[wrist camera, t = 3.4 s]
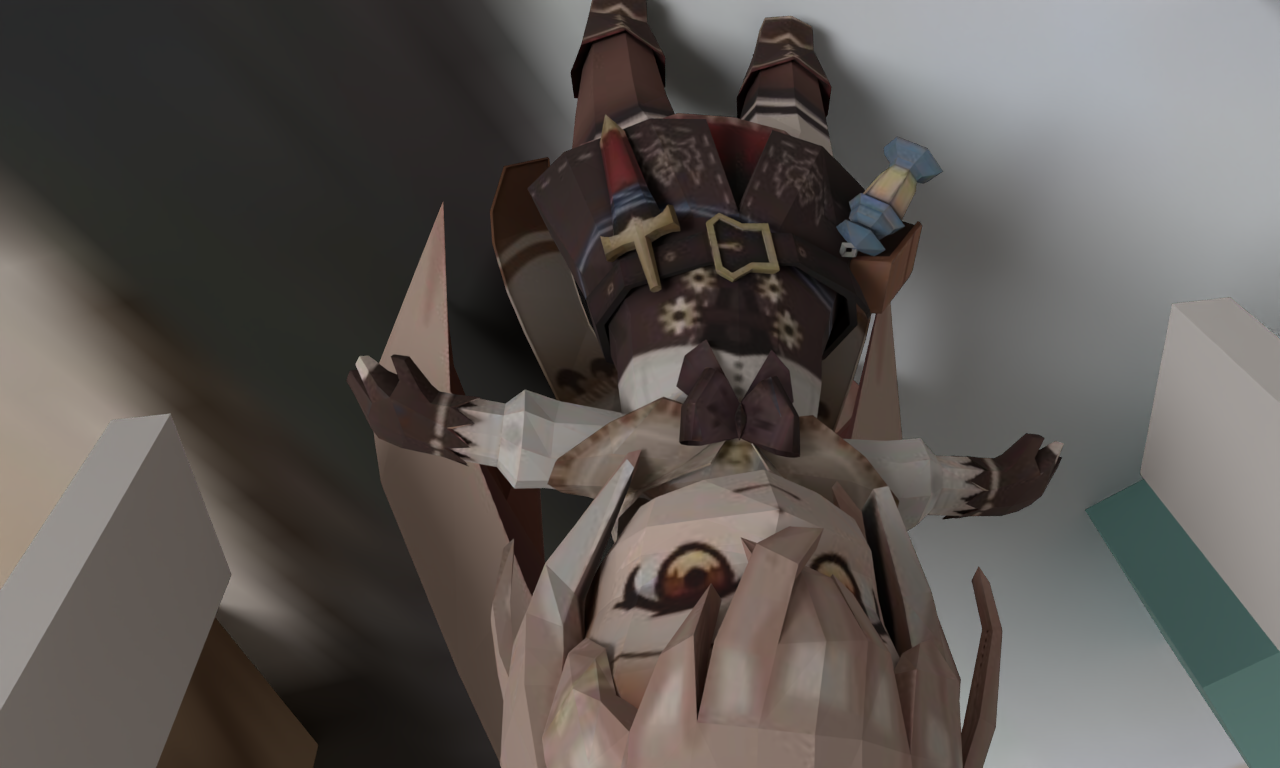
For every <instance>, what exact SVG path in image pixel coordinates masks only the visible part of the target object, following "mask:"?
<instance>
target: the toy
mask: <svg viewBox="0 0 1280 768" xmlns="http://www.w3.org/2000/svg"><path fill="white" fill-rule="evenodd" d="M571 78H572V85H573V93H574V98H578V102H577V108H576V116H575V126H574V136H573V146H572V149H571V150H568V151H566V152H564V153H563V154H562V155H561V156H560V157H559V158H558V159H557V160H556V161H555V162H554V163H553V164H552V165H551V166H550V162H549V158H548V157H546V158H541V159H536V160H532V161H527V162H522V163H517V164H513V165H508V166H504V168H503V171H502V174H501V177H500V181H499V184H498V187H497V190H496V194H495V197H494V200H493V203H492V206H491V210H490V217H491V231H492V244H493V247H494V251H495V254H496V257H497V261H498V264H499V268H500V271H501V274H502V278H503V281H504V285H505V288H506V291H507V294H508V296H509V299H510V301H511V303H512V306H513V308H514V310H515V313H516V315H517V317H518V320H519V322H520V324H521V327H522V329H523V331H524V334H525V336H526V338H527V340H528V342H529V344H530V346H531V348H532V350H533V352H534V354H535V356H536V358H537V360H538V362H539V365H540V367H541V369H542V371H543V373H544V375H545V377H546V379H547V381H548V383H549V385H550V387H551V389H552V391H553V393H554V395H555V397H556V399H557V400H555V399H552V398H549V397H546V396H543V395H540V394H537V393H534V392H531V391H528V390H524V391H522V392H521V393H520V394H518V395H517V396H515V397H514V398H513V399H511V400H510V401H509V402H507V403H506V404H504V403H499V402H494V401H488V400H483V399H479V398H481V397H473V396H465V393H464V391H463V388H462V386H461V383H460V380H459V378H458V375H457V373H456V370H455V368H454V364H453V355H452V347H451V339H450V330H449V322H448V314H447V291H446V264H445V237H444V210H443V203H442V205H441V208H440V210H439V213H438V215H437V218H436V221H435V223H434V226H433V228H432V231H431V233H430V236H429V238H428V241H427V243H426V246H425V248H424V251H423V254H422V256H421V259H420V261H419V264H418V266H417V269H416V271H415V274H414V276H413V279H412V281H411V284H410V287H409V289H408V292H407V294H406V297H405V299H404V302H403V304H402V307H401V309H400V312H399V314H398V317H397V320H396V322H395V325H394V327H393V330H392V332H391V335H390V337H389V340H388V342H387V345H386V347H385V350H384V352H383V355H382V358H381V360H380V363H378V362H376V361H375V360H374V359H372V358H371V357H370V356H359V358H358V360H357V362H356V367H357V369H358V370H351V371H350V372H349V375H348V378H347V382H348V384H349V386H350V388H351V389H352V391H353V393H354V394H355V396H356V398H357V400H358V402H359V404H360V406H361V408H362V410H363V412H364V414H365V416H366V418H367V420H368V422H369V424H370V426H371V428H372V430H373V431H374V438H375V444H376V451H377V458H378V465H379V472H380V479H381V484H382V486H383V489H384V491H385V494H386V496H387V499H388V501H389V504H390V506H391V509H392V511H393V513H394V516H395V518H396V521H397V523H398V526H399V528H400V531H401V533H402V536H403V538H404V540H405V543H406V545H407V548H408V550H409V553H410V555H411V558H412V560H413V563H414V565H415V567H416V570H417V572H418V575H419V577H420V580H421V582H422V585H423V587H424V590H425V592H426V594H427V597H428V599H429V602H430V604H431V607H432V609H433V612H434V614H435V617H436V619H437V621H438V624H439V626H440V629H441V631H442V634H443V636H444V639H445V641H446V644H447V646H448V648H449V651H450V653H451V656H452V658H453V661H454V663H455V666H456V668H457V671H458V673H459V675H460V677H461V679H462V682H463V684H464V686H465V688H466V690H467V692H468V695H469V697H470V699H471V701H472V703H473V705H474V708H475V710H476V712H477V714H478V716H479V718H480V721H481V723H482V725H483V727H484V729H485V731H486V733H487V736H488V738H489V740H490V742H491V744H492V746H493V749H494V751H495V753H496V755H497V757H498V759H499V762H500V765H501V768H983V765H984V762H985V759H986V756H987V752H988V749H989V746H990V743H991V740H992V737H993V734H994V731H995V728H996V715H997V701H998V686H999V672H1000V658H1001V643H1002V627H1001V623H1000V620H999V616H998V612H997V609H996V605H995V601H994V597H993V594H992V590H991V586H990V583H989V581H988V579H987V578H986V576H985V575H984V574H983V572H982V571H981V569H980V568H979V567H978V569H977V571H976V573H975V575H974V577H973V579H972V584H973V589H974V593H975V598H976V602H977V607H978V612H979V616H980V621H981V625H982V633H981V638H980V643H979V649H978V654H977V659H976V664H975V669H974V674H973V679H972V684H971V689H970V694H969V699H968V704H967V709H966V714H965V719H964V724H963V729H962V732H961V723H960V703H959V697H960V681H961V679H960V676H959V674H958V671H957V668H956V665H955V663H954V660H953V657H952V654H951V652H950V649H949V646H948V643H947V641H946V638H945V635H944V632H943V630H942V627H941V624H940V621H939V619H938V616H937V612H936V608H935V604H934V600H933V596H932V592H931V589H930V587H929V584H928V582H927V579H926V577H925V575H924V572H923V570H922V567H921V565H920V562H919V560H918V557H917V555H916V552H915V550H914V548H913V545H912V543H911V540H910V538H909V535H908V533H907V531H908V530H909V529H911V528H913V527H915V526H916V525H918V524H919V523H920V522H921V521H922V519H923V518H924V517H925V516H926V515H946V516H945V517H944V518H943V519H950V518H955V519H956V518H962V517H968V516H1002V515H1006V514H1010V513H1013V512H1017V511H1019V510H1021V509H1023V508H1025V507H1027V506H1029V505H1031V504H1032V503H1033V502H1034V501H1036V500H1037V499H1038V498H1039V497H1041V496H1042V494H1043V493H1044V491H1045V489H1046V487H1047V485H1048V484H1049V482H1050V480H1051V478H1052V476H1053V475H1054V473H1055V471H1056V469H1057V467H1058V465H1059V463H1060V461H1061V459H1062V457H1059V455H1060V452H1061V450H1062V447H1063V445H1064V443H1060V442H1057V441H1054V442H1053V443H1051V444H1049V445H1047V446H1046V447H1044V448H1042V449H1040V450H1039V448H1040V446H1041V444H1042V442H1043V440H1044V438H1043V437H1042V436H1040V435H1036V434H1028V433H1026V434H1025V435H1024V436H1023V437H1021V438H1020V439H1019V440H1018V441H1017V442H1016V443H1015V444H1013V445H1012V446H1011V447H1010V448H1009V449H1008V450H1007V451H1005V452H1004V453H1003V454H1002V455H1000V456H998V457H996V458H978V457H970V456H967V457H963V456H937V455H935V454H934V453H933V452H932V451H931V450H930V449H929V447H928V446H927V445H926V444H925V443H924V442H923V441H922V439H921V438H915V439H903V440H902V431H901V419H900V408H899V396H898V385H897V373H896V362H895V351H894V339H893V328H892V316H891V305H890V302H891V301H892V299H893V298H894V297H895V295H896V294H897V293H898V291H899V290H900V289H901V287H902V286H903V285H904V283H905V282H906V281H907V279H908V278H909V276H910V274H911V272H912V270H913V266H914V261H915V256H916V252H917V247H918V242H919V238H920V233H921V229H922V225H921V223H920V222H919V221H917V223H916V224H915V225H913V224H909V223H906V222H903V221H902V219H903V217H904V215H905V213H906V210H907V208H908V206H909V204H910V202H911V200H912V198H913V196H914V194H915V192H916V185H917V182H918V183H925V182H928V181H929V180H931V179H932V178H934V177H935V176H937V175H938V174H940V173H941V172H943V171H942V169H941V168H940V166H939V165H938V163H937V162H936V160H935V159H934V157H933V156H932V154H931V153H930V151H929V150H928V148H925V147H923V146H920V145H918V144H915V143H912V142H910V141H907V140H905V139H902V138H900V137H896V138H895V139H894V140H893V141H891V142H890V143H889V144H888V145H886V146H885V147H884V154H885V156H886V158H887V159H888V161H889V162H890V165H889V168H888V169H887V170H885V171H884V172H883V173H881V174H880V175H879V176H878V177H877V178H876V179H875V180H874V181H873V182H872V184H871V185H870V186H869V187H868V188H867V189H866V190H865V189H864V188H863V187H862V186H861V185H860V184H859V183H858V182H857V181H856V180H855V179H854V178H853V177H852V176H851V175H850V174H849V173H848V172H847V171H846V170H845V169H844V168H843V167H842V166H841V165H840V164H839V163H838V162H837V161H836V160H835V159H834V157H833V153H832V148H831V143H830V138H829V132H828V127H827V122H826V116H827V115H828V109H829V101H830V94H831V85H830V83H829V81H828V79H827V77H826V75H825V73H824V71H823V69H822V67H821V65H820V63H819V61H818V59H817V57H816V55H815V53H814V48H813V30H812V27H811V26H810V25H808V24H806V23H804V22H802V21H800V20H798V19H796V18H795V17H793V16H782V17H769V18H765V19H764V21H763V24H762V26H761V28H760V31H759V35H758V39H757V43H756V47H755V51H754V54H753V58H752V61H751V63H750V66H749V68H748V71H747V73H746V76H745V78H744V81H743V84H742V86H741V89H740V91H739V94H738V96H737V118H734V117H723V116H710V115H696V114H683V113H677V114H674V111H673V109H672V107H671V104H670V102H669V100H668V98H667V95H666V92H665V89H664V88H665V56H664V54H663V52H662V50H661V49H660V47H659V45H658V43H657V41H656V39H655V37H654V35H653V33H652V31H651V29H650V27H649V25H648V23H647V3H646V0H592V3H591V8H590V13H589V17H588V21H587V24H586V28H585V32H584V36H583V40H582V44H581V47H580V49H579V52H578V55H577V57H576V60H575V62H574V65H573V68H572V70H571ZM574 279H575V281H576V282H577V284H578V286H579V288H580V290H581V292H582V293H583V295H584V297H585V299H586V301H587V305H588V309H589V312H590V316H591V320H592V323H593V327H594V330H593V329H592V327H591V325H590V323H589V321H588V318H587V315H586V313H585V310H584V308H583V305H582V302H581V300H580V296H579V293H578V290H577V287H576V284H575V281H574ZM872 313H876V315H875V320H874V324H873V328H872V332H871V337H870V341H869V345H868V349H867V354H866V358H865V362H864V366H863V371H862V375H861V379H860V383H859V385H858V384H857V383H856V382H855V381H854V380H853V379H854V376H855V372H856V369H857V366H858V363H859V359H860V356H861V353H862V350H863V347H864V343H865V340H866V336H867V331H868V327H869V323H870V319H871V314H872ZM594 331H595V332H594ZM540 488H550V489H556V490H558V491H560V492H561V493H568V494H575V495H582V496H587V497H591V498H594V500H593V502H592V503H591V504H590V506H589V507H588V508H587V510H586V511H585V512H584V514H583V515H582V517H581V518H580V519H579V521H578V522H577V523H576V525H575V526H574V527H573V528H572V530H571V531H570V532H569V534H568V535H567V536H566V537H565V539H564V540H563V541H562V543H561V544H560V545H559V546H558V548H557V549H556V550H555V551H554V553H553V554H552V555H551V557H550V558H549V559H548V560H547V562H546V563H545V560H544V544H543V529H542V514H541V498H540ZM611 533H612V536H613V540H614V545H613V546H612V548H611V549H610V551H609V552H608V554H607V555H606V557H605V558H604V560H603V561H602V563H601V565H600V566H599V568H598V570H597V567H598V565H599V562H600V560H601V557H602V555H603V552H604V550H605V547H606V545H607V542H608V540H609V537H610V534H611ZM596 570H597V572H596ZM595 572H596V574H595ZM594 575H595V576H594Z"/></svg>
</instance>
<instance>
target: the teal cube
mask: <svg viewBox="0 0 1280 768" xmlns="http://www.w3.org/2000/svg"><path fill="white" fill-rule="evenodd" d="M1085 511H1086V512H1087V514H1088V515H1089V517H1090V519H1091V520H1092V522H1093V523H1094V525H1095V527H1096V528H1097V530H1098V532H1099V533H1100V535H1101V536H1102V538H1103V540H1104V541H1105V543H1106V544H1107V546H1108V548H1109V549H1110V551H1111V553H1112V554H1113V556H1114V557H1115V559H1116V561H1117V562H1118V564H1119V565H1120V567H1121V569H1122V570H1123V572H1124V573H1125V575H1126V577H1127V578H1128V580H1129V582H1130V583H1131V585H1132V586H1133V588H1134V590H1135V591H1136V593H1137V594H1138V596H1139V598H1140V599H1141V601H1142V603H1143V604H1144V606H1145V607H1146V609H1147V611H1148V612H1149V614H1150V615H1151V617H1152V619H1153V620H1154V622H1155V623H1156V625H1157V627H1158V628H1159V630H1160V632H1161V633H1162V635H1163V636H1164V638H1165V640H1166V641H1167V643H1168V644H1169V646H1170V647H1171V649H1172V650H1173V652H1174V654H1175V655H1176V657H1177V658H1178V660H1179V661H1180V663H1181V664H1182V666H1183V667H1184V669H1185V670H1186V672H1187V673H1188V675H1189V676H1190V678H1191V680H1192V681H1193V683H1194V684H1195V686H1196V687H1197V689H1198V690H1199V692H1200V693H1201V695H1202V696H1203V698H1204V699H1205V701H1206V702H1207V704H1208V706H1209V707H1210V709H1211V710H1212V712H1213V713H1214V715H1215V716H1216V718H1217V719H1218V721H1219V722H1220V724H1221V725H1222V727H1223V728H1224V730H1225V732H1226V733H1227V735H1228V736H1229V738H1230V739H1231V741H1232V742H1233V744H1234V745H1235V747H1236V748H1237V750H1238V751H1239V753H1240V754H1241V756H1242V757H1243V759H1244V761H1245V762H1246V764H1247V765H1248V767H1249V768H1280V651H1279V650H1278V649H1277V647H1276V646H1275V645H1274V644H1273V642H1272V641H1271V640H1270V639H1269V637H1268V636H1267V635H1266V633H1265V632H1264V631H1263V630H1262V628H1261V627H1260V626H1259V625H1258V623H1257V622H1256V621H1255V619H1254V618H1253V617H1252V616H1251V614H1250V613H1249V612H1248V611H1247V609H1246V608H1245V607H1244V605H1243V604H1242V603H1241V602H1240V600H1239V599H1238V598H1237V597H1236V595H1235V594H1234V593H1233V591H1232V590H1231V589H1230V588H1229V586H1228V585H1227V584H1226V583H1225V581H1224V580H1223V579H1222V577H1221V576H1220V575H1219V574H1218V572H1217V571H1216V570H1215V569H1214V567H1213V566H1212V565H1211V563H1210V562H1209V561H1208V560H1207V558H1206V557H1205V556H1204V555H1203V553H1202V552H1201V551H1200V549H1199V548H1198V547H1197V546H1196V544H1195V543H1194V542H1193V541H1192V539H1191V538H1190V537H1189V535H1188V534H1187V533H1186V532H1185V530H1184V529H1183V528H1182V527H1181V525H1180V524H1179V523H1178V521H1177V520H1176V519H1175V518H1174V516H1173V515H1172V514H1171V513H1170V511H1169V510H1168V509H1167V507H1166V506H1165V505H1164V504H1163V502H1162V501H1161V500H1160V499H1159V497H1158V496H1157V495H1156V493H1155V492H1154V491H1153V490H1152V488H1151V487H1150V486H1149V485H1148V483H1147V482H1146V481H1145V479H1143V480H1141V481H1139V482H1137V483H1135V484H1133V485H1132V486H1130V487H1128V488H1126V489H1124V490H1122V491H1120V492H1118V493H1116V494H1114V495H1112V496H1111V497H1109V498H1107V499H1105V500H1103V501H1101V502H1099V503H1097V504H1095V505H1093V506H1091V507H1090V508H1088V509H1086V510H1085Z"/></svg>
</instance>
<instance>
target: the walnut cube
mask: <svg viewBox="0 0 1280 768" xmlns="http://www.w3.org/2000/svg"><path fill="white" fill-rule="evenodd" d="M317 749H318V744H317V743H316V741H315V740H314V739H313V738H312V737H311V735H310V734H309V733H308V732H307V730H306V729H305V728H304V727H303V725H302V724H301V723H300V722H299V721H298V719H297V718H296V717H295V716H294V714H293V713H292V712H291V711H290V709H289V708H288V707H287V706H286V704H285V703H284V702H283V701H282V700H281V698H280V697H279V696H278V695H277V693H276V692H275V691H274V690H273V688H272V687H271V686H270V685H269V683H268V682H267V681H266V680H265V679H264V677H263V676H262V675H261V674H260V672H259V671H258V670H257V669H256V667H255V666H254V665H253V664H252V662H251V661H250V660H249V659H248V658H247V656H246V655H245V654H244V653H243V651H242V650H241V649H240V648H239V646H238V645H237V644H236V643H235V641H234V640H233V639H232V638H231V637H230V635H229V634H228V633H227V632H226V630H225V629H224V628H223V627H222V625H221V624H220V623H219V622H218V620H217V619H216V618H214V621H213V623H212V626H211V628H210V631H209V633H208V636H207V639H206V641H205V644H204V646H203V649H202V651H201V654H200V656H199V659H198V662H197V664H196V667H195V669H194V672H193V674H192V677H191V679H190V682H189V685H188V687H187V690H186V692H185V695H184V697H183V700H182V702H181V705H180V708H179V710H178V713H177V715H176V718H175V720H174V723H173V725H172V728H171V731H170V733H169V736H168V738H167V741H166V743H165V746H164V749H163V751H162V754H161V756H160V759H159V761H158V764H157V766H156V768H313V766H314V761H315V757H316V753H317Z"/></svg>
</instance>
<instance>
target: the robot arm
mask: <svg viewBox="0 0 1280 768" xmlns="http://www.w3.org/2000/svg"><path fill="white" fill-rule="evenodd" d="M1140 474H1141V476H1142V477H1143V478H1144V479H1145V481H1146V482H1147V483H1148V485H1149V486H1150V487H1151V488H1152V490H1153V491H1154V492H1155V493H1156V495H1157V496H1158V497H1159V499H1160V500H1161V501H1162V502H1163V504H1164V505H1165V506H1166V507H1167V509H1168V510H1169V511H1170V513H1171V514H1172V515H1173V516H1174V518H1175V519H1176V520H1177V521H1178V523H1179V524H1180V525H1181V527H1182V528H1183V529H1184V530H1185V532H1186V533H1187V534H1188V535H1189V537H1190V538H1191V539H1192V541H1193V542H1194V543H1195V544H1196V546H1197V547H1198V548H1199V549H1200V551H1201V552H1202V553H1203V555H1204V556H1205V557H1206V558H1207V560H1208V561H1209V562H1210V563H1211V565H1212V566H1213V567H1214V569H1215V570H1216V571H1217V572H1218V574H1219V575H1220V576H1221V577H1222V579H1223V580H1224V581H1225V583H1226V584H1227V585H1228V586H1229V588H1230V589H1231V590H1232V591H1233V593H1234V594H1235V595H1236V597H1237V598H1238V599H1239V600H1240V602H1241V603H1242V604H1243V605H1244V607H1245V608H1246V609H1247V611H1248V612H1249V613H1250V614H1251V616H1252V617H1253V618H1254V619H1255V621H1256V622H1257V623H1258V625H1259V626H1260V627H1261V628H1262V630H1263V631H1264V632H1265V633H1266V635H1267V636H1268V637H1269V639H1270V640H1271V641H1272V642H1273V644H1274V645H1275V646H1276V647H1277V649H1278V650H1279V651H1280V339H1279V338H1278V337H1277V336H1276V335H1275V334H1273V333H1272V332H1271V331H1270V330H1269V329H1267V328H1266V327H1265V326H1264V325H1263V324H1261V323H1260V322H1259V321H1258V320H1257V319H1255V318H1254V317H1253V316H1252V315H1251V314H1250V313H1248V312H1247V311H1246V310H1245V309H1244V308H1242V307H1241V306H1240V305H1239V304H1238V303H1236V302H1235V301H1234V300H1233V299H1232V298H1230V297H1228V298H1219V299H1210V300H1201V301H1192V302H1182V303H1173V304H1172V307H1171V313H1170V318H1169V323H1168V328H1167V334H1166V339H1165V344H1164V349H1163V355H1162V360H1161V365H1160V371H1159V376H1158V381H1157V386H1156V392H1155V397H1154V402H1153V407H1152V413H1151V418H1150V423H1149V429H1148V434H1147V439H1146V444H1145V450H1144V455H1143V460H1142V465H1141V471H1140ZM230 577H231V572H230V569H229V567H228V564H227V561H226V559H225V556H224V553H223V551H222V548H221V546H220V543H219V540H218V538H217V535H216V532H215V530H214V527H213V524H212V522H211V519H210V517H209V514H208V511H207V509H206V506H205V503H204V501H203V498H202V495H201V493H200V490H199V487H198V485H197V482H196V480H195V477H194V474H193V472H192V469H191V466H190V464H189V461H188V458H187V456H186V453H185V451H184V448H183V445H182V443H181V440H180V437H179V435H178V432H177V429H176V427H175V424H174V422H173V419H172V416H171V414H163V415H154V416H144V417H135V418H126V419H117V420H111V422H110V423H109V425H108V426H107V428H106V429H105V431H104V432H103V434H102V436H101V437H100V439H99V440H98V442H97V443H96V445H95V446H94V448H93V449H92V451H91V452H90V454H89V455H88V457H87V458H86V460H85V461H84V463H83V465H82V466H81V468H80V469H79V471H78V472H77V474H76V475H75V477H74V478H73V480H72V481H71V483H70V484H69V486H68V487H67V489H66V491H65V492H64V494H63V495H62V497H61V498H60V500H59V501H58V503H57V504H56V506H55V507H54V509H53V510H52V512H51V513H50V515H49V517H48V518H47V520H46V521H45V523H44V524H43V526H42V527H41V529H40V530H39V532H38V533H37V535H36V536H35V538H34V539H33V541H32V542H31V544H30V546H29V547H28V549H27V550H26V552H25V553H24V555H23V556H22V558H21V559H20V561H19V562H18V564H17V565H16V567H15V568H14V570H13V572H12V573H11V575H10V576H9V578H8V579H7V581H6V582H5V584H4V585H3V587H2V588H1V590H0V768H156V766H157V764H158V761H159V759H160V756H161V754H162V751H163V749H164V746H165V743H166V741H167V738H168V736H169V733H170V731H171V728H172V725H173V723H174V720H175V718H176V715H177V713H178V710H179V708H180V705H181V702H182V700H183V697H184V695H185V692H186V690H187V687H188V685H189V682H190V679H191V677H192V674H193V672H194V669H195V667H196V664H197V662H198V659H199V656H200V654H201V651H202V649H203V646H204V644H205V641H206V639H207V636H208V633H209V631H210V628H211V626H212V623H213V621H214V618H215V616H216V613H217V610H218V608H219V605H220V603H221V600H222V598H223V595H224V593H225V590H226V587H227V585H228V582H229V580H230Z"/></svg>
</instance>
